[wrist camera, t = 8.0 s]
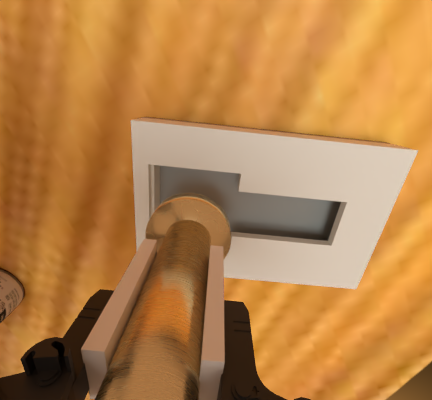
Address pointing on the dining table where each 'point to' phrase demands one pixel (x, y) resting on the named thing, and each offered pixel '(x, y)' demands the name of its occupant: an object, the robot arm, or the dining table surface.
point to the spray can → (9, 293)
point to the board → (275, 194)
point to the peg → (169, 305)
